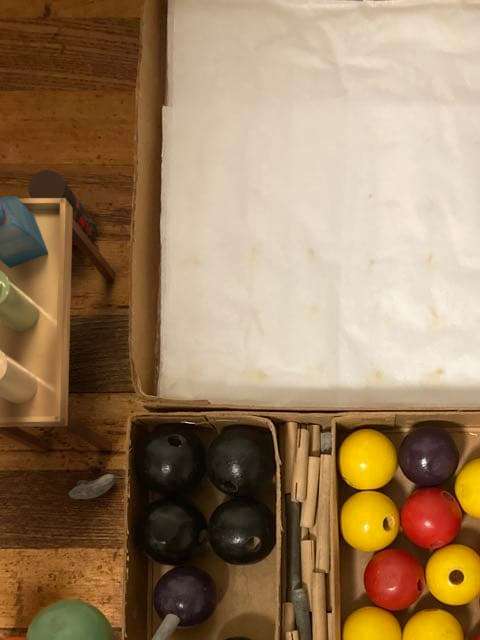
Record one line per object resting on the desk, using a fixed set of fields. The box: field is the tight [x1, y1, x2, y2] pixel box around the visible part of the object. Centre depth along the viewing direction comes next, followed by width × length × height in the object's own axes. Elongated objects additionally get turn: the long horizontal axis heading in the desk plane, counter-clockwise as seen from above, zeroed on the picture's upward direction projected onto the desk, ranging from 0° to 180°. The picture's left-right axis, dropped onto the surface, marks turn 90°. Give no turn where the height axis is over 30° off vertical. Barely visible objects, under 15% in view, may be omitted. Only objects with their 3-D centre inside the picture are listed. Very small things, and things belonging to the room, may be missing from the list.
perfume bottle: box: [0, 195, 48, 268], centre depth 121 cm, size 6×6×12 cm
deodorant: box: [27, 169, 98, 247], centre depth 143 cm, size 6×6×15 cm
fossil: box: [68, 473, 117, 500], centre depth 144 cm, size 8×4×5 cm, turn 112°
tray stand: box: [0, 197, 116, 453], centre depth 136 cm, size 14×34×25 cm, turn 1°
